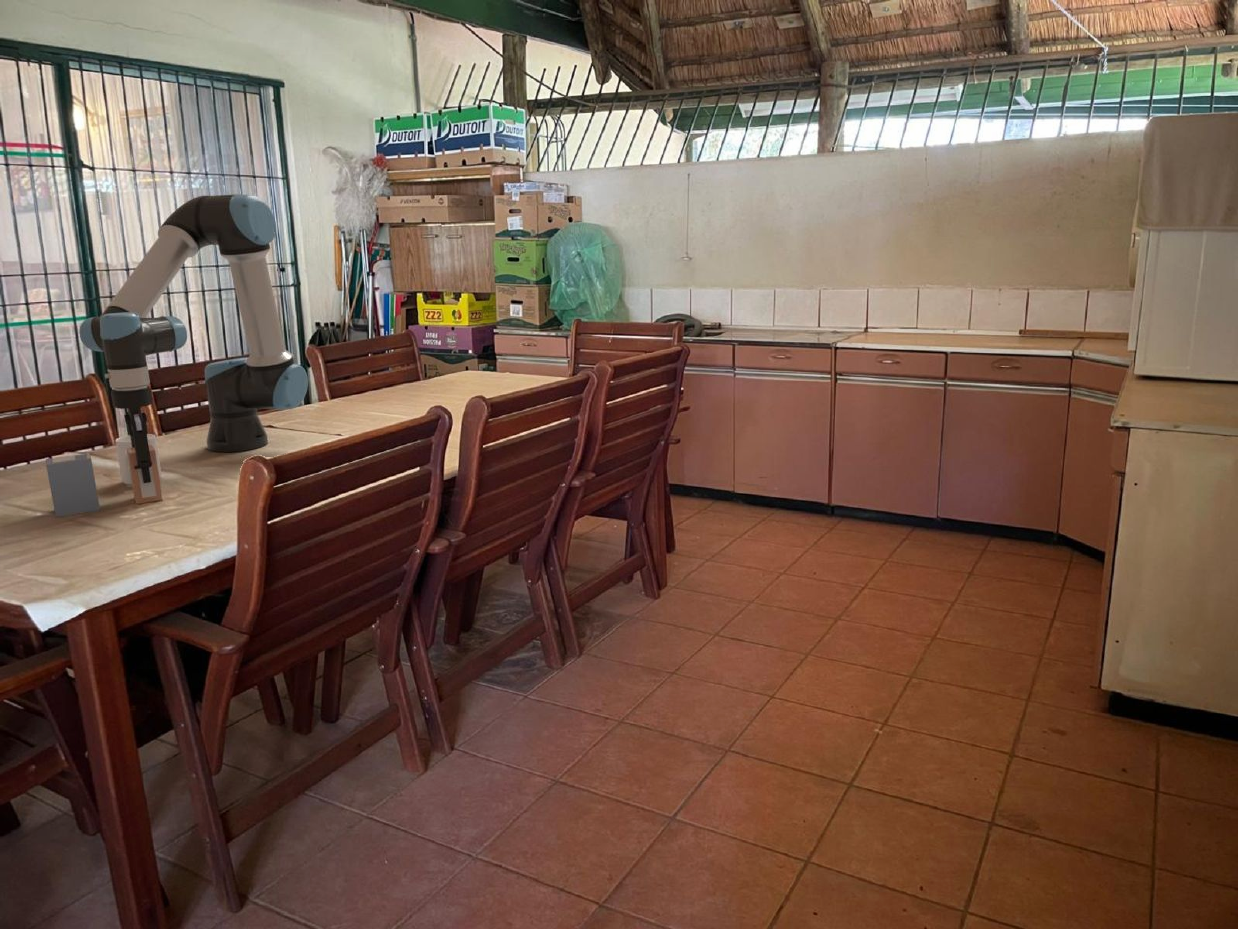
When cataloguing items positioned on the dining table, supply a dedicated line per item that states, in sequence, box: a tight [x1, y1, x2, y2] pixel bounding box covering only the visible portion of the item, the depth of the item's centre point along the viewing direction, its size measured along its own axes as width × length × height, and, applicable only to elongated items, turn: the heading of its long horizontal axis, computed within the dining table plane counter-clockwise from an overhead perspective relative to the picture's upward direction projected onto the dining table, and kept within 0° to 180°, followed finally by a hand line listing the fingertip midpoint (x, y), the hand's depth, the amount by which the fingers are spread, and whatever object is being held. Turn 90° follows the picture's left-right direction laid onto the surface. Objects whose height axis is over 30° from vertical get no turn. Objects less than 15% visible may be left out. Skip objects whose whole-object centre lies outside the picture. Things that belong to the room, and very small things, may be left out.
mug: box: [114, 433, 162, 486], centre depth 212 cm, size 12×8×10 cm
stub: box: [126, 445, 163, 505], centre depth 199 cm, size 5×6×11 cm
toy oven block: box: [45, 452, 101, 518], centre depth 192 cm, size 8×6×11 cm
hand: (147, 492), depth 200 cm, fingers closed on stub, 6 cm apart
